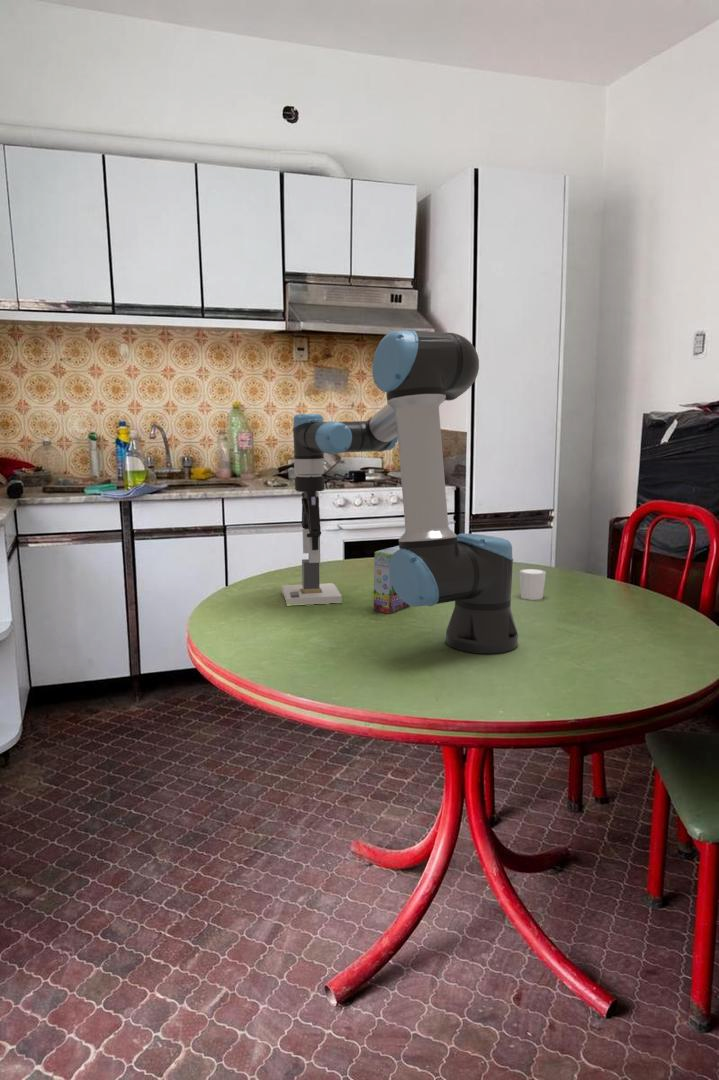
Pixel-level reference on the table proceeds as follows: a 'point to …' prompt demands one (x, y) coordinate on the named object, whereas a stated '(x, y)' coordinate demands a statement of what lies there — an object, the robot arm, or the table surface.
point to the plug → (310, 577)
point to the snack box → (385, 584)
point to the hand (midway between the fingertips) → (311, 557)
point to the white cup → (532, 583)
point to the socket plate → (312, 595)
